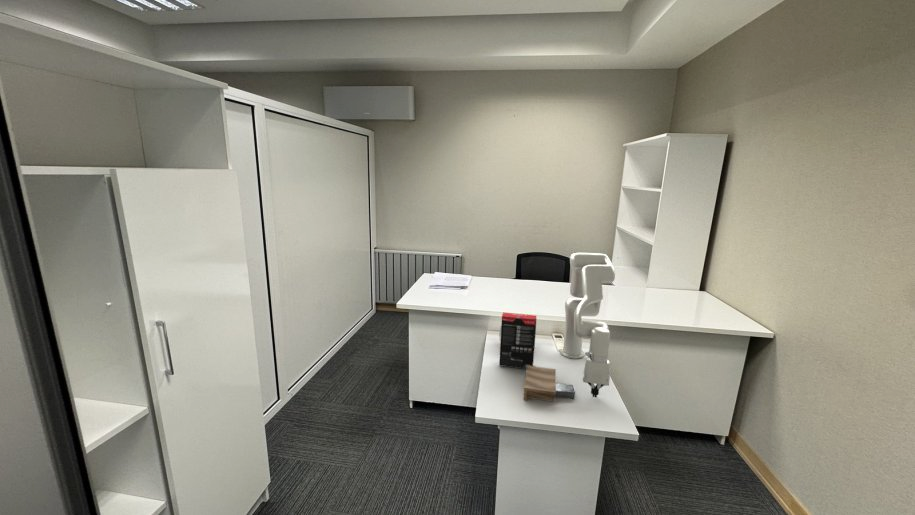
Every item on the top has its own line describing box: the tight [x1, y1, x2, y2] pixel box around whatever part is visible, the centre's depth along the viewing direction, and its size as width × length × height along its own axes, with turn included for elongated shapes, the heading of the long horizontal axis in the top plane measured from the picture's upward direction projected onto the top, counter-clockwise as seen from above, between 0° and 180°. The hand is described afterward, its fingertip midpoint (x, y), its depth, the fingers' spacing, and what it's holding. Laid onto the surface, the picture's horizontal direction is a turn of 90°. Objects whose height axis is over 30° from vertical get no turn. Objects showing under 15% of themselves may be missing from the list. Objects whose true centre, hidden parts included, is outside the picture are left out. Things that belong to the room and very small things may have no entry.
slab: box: [555, 383, 576, 400], centre depth 165 cm, size 16×6×4 cm, turn 82°
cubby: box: [523, 365, 557, 402], centre depth 167 cm, size 20×13×6 cm, turn 165°
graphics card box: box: [498, 312, 537, 370], centre depth 187 cm, size 17×7×27 cm, turn 79°
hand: (594, 395), depth 162 cm, fingers closed
